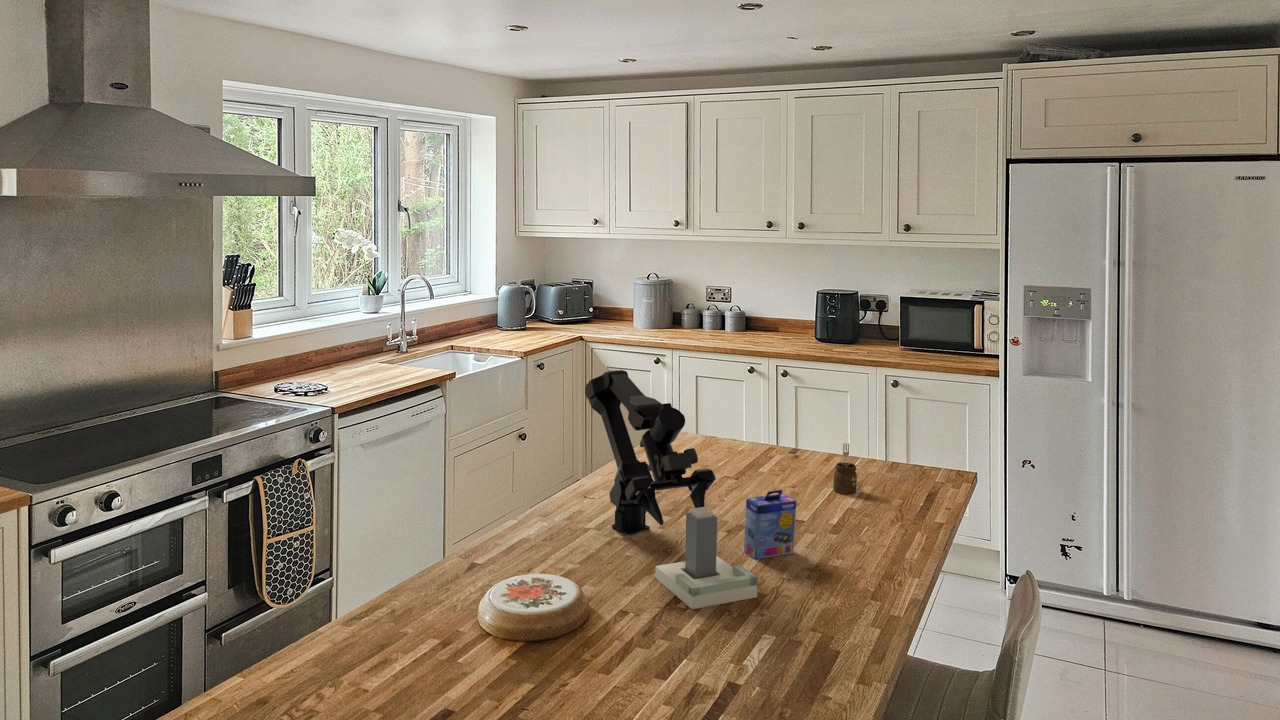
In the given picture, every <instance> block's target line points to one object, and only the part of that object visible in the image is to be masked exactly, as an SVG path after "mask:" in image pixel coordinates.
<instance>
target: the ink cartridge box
mask: <svg viewBox="0 0 1280 720" xmlns="http://www.w3.org/2000/svg"><path fill="white" fill-rule="evenodd" d="M796 509H797V500H795V499H794V498H792V497H791V496H789V495H787V494H786V493H783V489H778V490H770V491H767V493H766V494H765V496H763V495H760V496H755V497H748V498H746V501H745V524H744V541H743V542H744V545H743V551H744V552H745V553H746V554H748V555H749V556H750V557H751V558H753V559H754V560H761V559H766V558H773V557H780V556H781V557H782V556H787V555H792V554H793V553H794V543H795V541H794V539H795V527H796V526H795V525H796V523H795V522H796V513H797V510H796Z"/></svg>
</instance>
